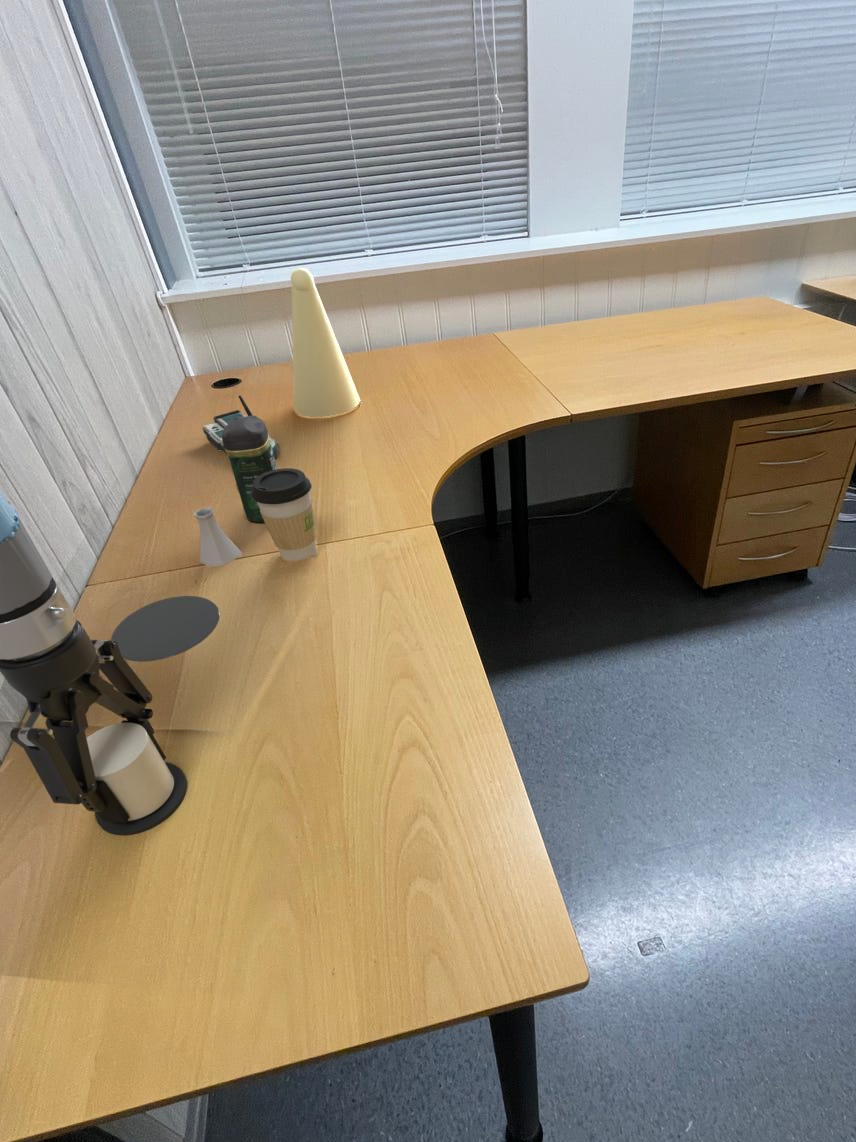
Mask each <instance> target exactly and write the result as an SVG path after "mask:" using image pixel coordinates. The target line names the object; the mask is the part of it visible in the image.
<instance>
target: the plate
mask: <svg viewBox="0 0 856 1142" xmlns="http://www.w3.org/2000/svg"><path fill="white" fill-rule="evenodd" d="M220 612H221V611H220V609H219V607H218V606H217V604H216V603H215V602H214V601H212V600H210V599H208V598H206V597H202V596H198V595H197V596H196V595H180V596H178V595H177V596H172V597H168V598H163V599H160V600H156V601H153V602H151V603H148V604H146V605H144V606H142V607H139V608H138V609H136V610H135V611H133V612H132V613H130V614H129V615H128V616H126V617H125V618H124V619H123V620H121V622H120V623H119V624H118V625H117V626H116V627H115V629H114V631H113V632H112V634H111V636H110V640H115V641H116V642H117V644H118V647H119V650H120V652H121V655H122V657H123V659H124V660H128V661H132V662H153V661H159V660H164V659H168V658H171V657H172V658H173V657H175V656H177V655H180V654H183V653H185V652H186V651H188V650H191V649H192V648H194V647H196V646H198V645H199V644H200V643H201V642H203V641H205V639H207V638H208V637H209V636H210V635H211V634H212V633H213V632H214V630H215V629H216V627H217V626H218V624H219V622H220V616H221V614H220Z"/></svg>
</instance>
